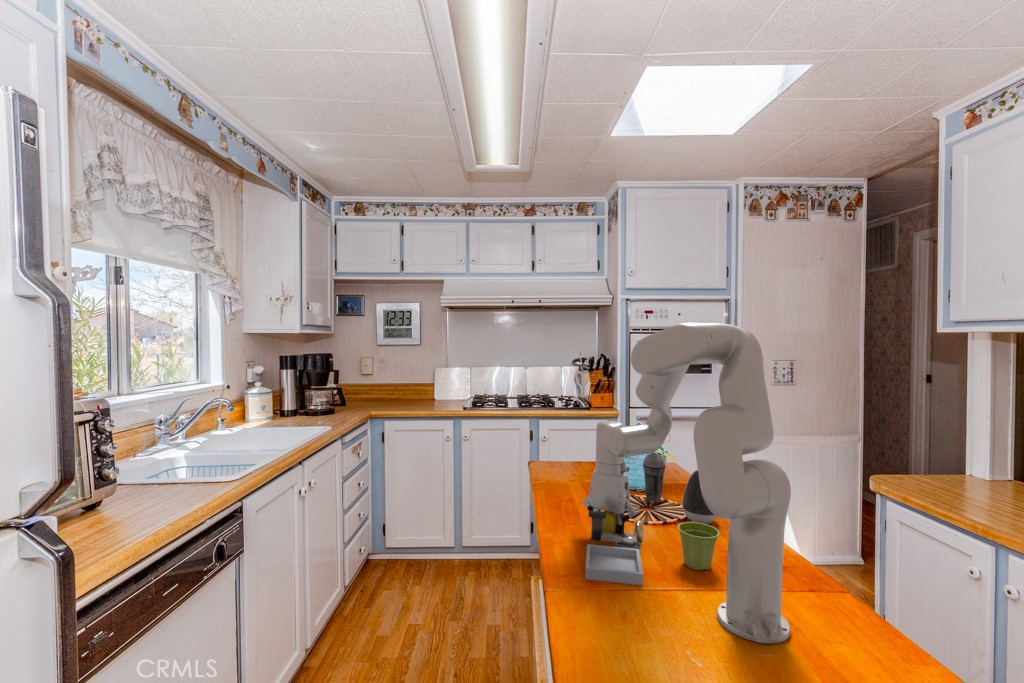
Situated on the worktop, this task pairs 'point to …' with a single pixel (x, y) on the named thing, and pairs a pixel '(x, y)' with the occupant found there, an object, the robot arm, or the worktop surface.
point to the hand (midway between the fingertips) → (608, 533)
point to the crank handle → (608, 533)
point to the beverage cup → (653, 476)
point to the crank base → (638, 532)
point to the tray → (613, 564)
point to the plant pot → (698, 544)
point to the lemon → (609, 523)
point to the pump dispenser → (696, 502)
